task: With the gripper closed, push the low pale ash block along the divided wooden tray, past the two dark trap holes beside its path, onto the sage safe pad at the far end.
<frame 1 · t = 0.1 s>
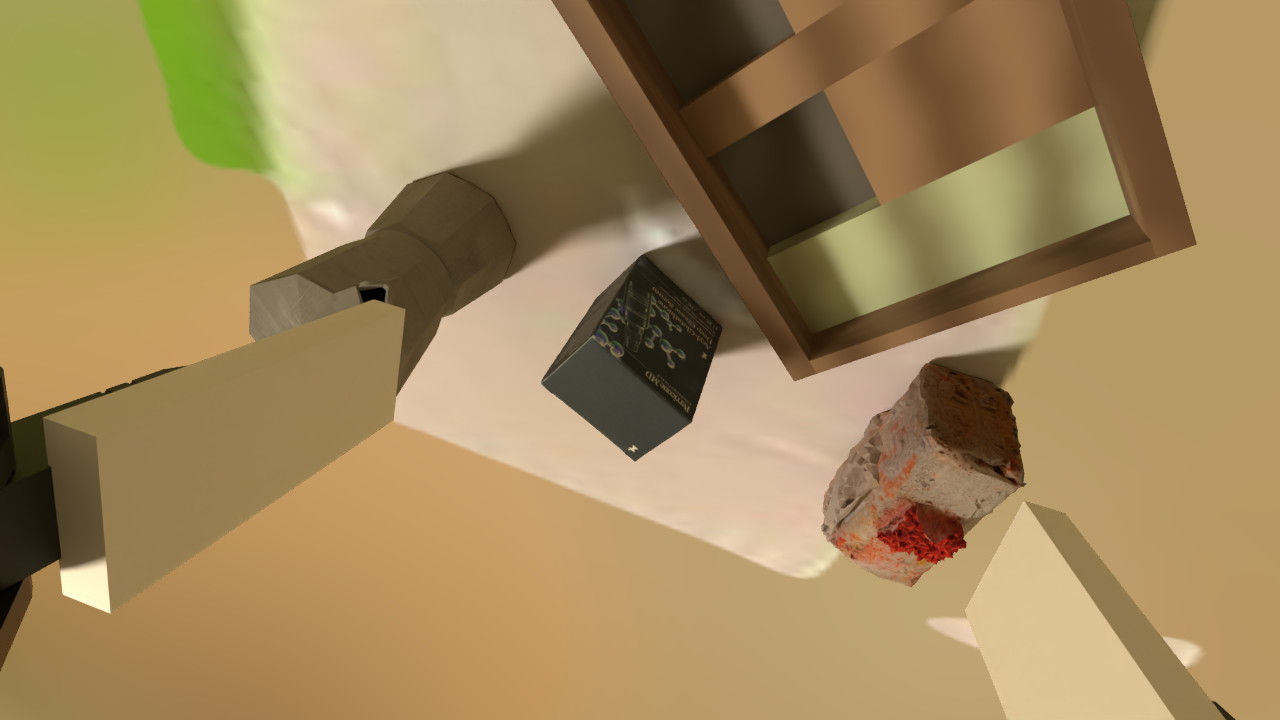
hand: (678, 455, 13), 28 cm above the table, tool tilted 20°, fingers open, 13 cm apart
box: (659, 310, 45), on the table
coffeepot: (451, 239, 47), on the table
food item: (909, 435, 46), on the table
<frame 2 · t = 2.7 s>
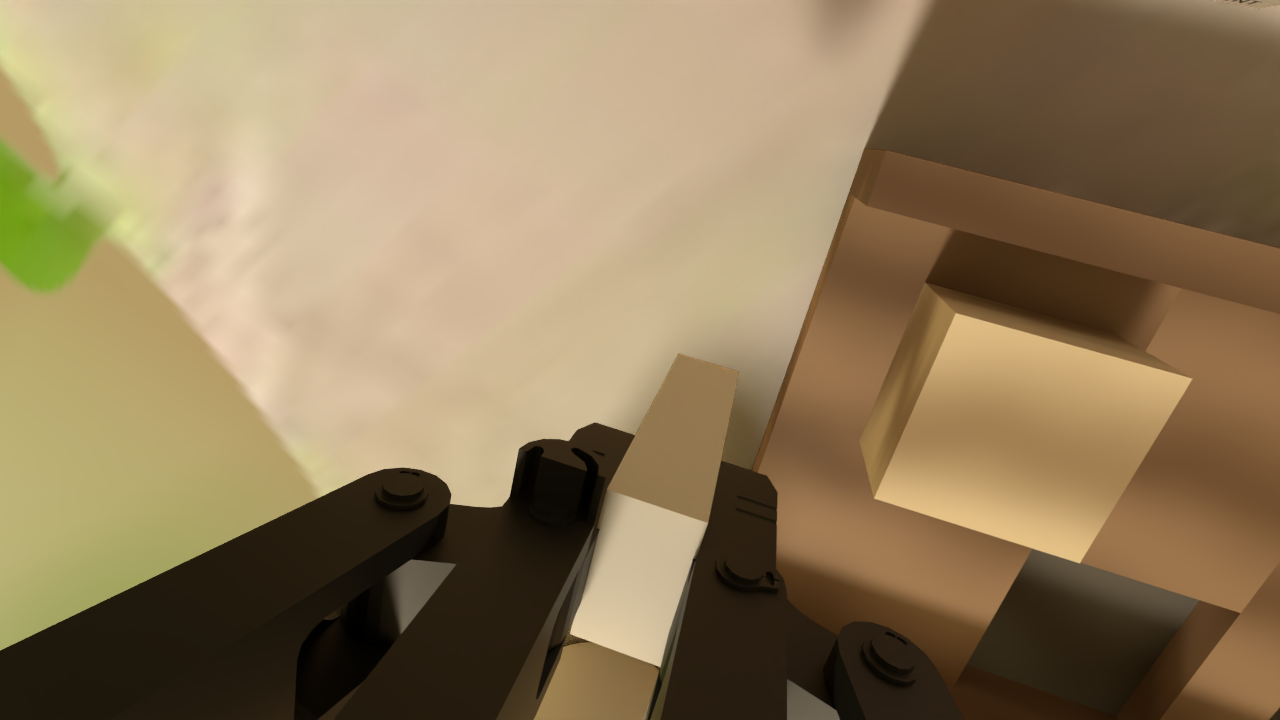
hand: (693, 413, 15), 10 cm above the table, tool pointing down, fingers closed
block: (979, 391, 21), point 2 cm above the table, touching divided wooden tray
divided wooden tray: (1198, 535, 23), on the table
pill bottle: (608, 696, 32), on the table
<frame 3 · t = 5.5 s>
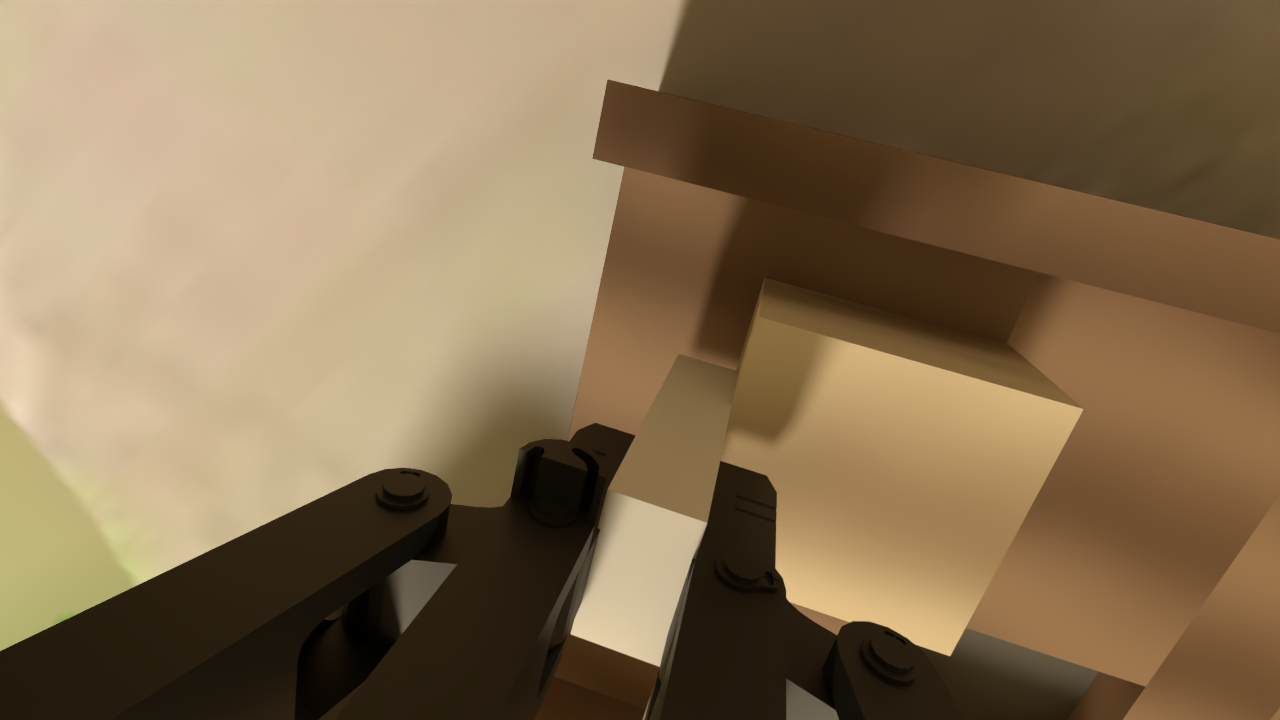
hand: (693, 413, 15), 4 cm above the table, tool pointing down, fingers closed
block: (842, 417, 16), point 2 cm above the table, touching gripper, divided wooden tray
divided wooden tray: (1099, 583, 18), on the table
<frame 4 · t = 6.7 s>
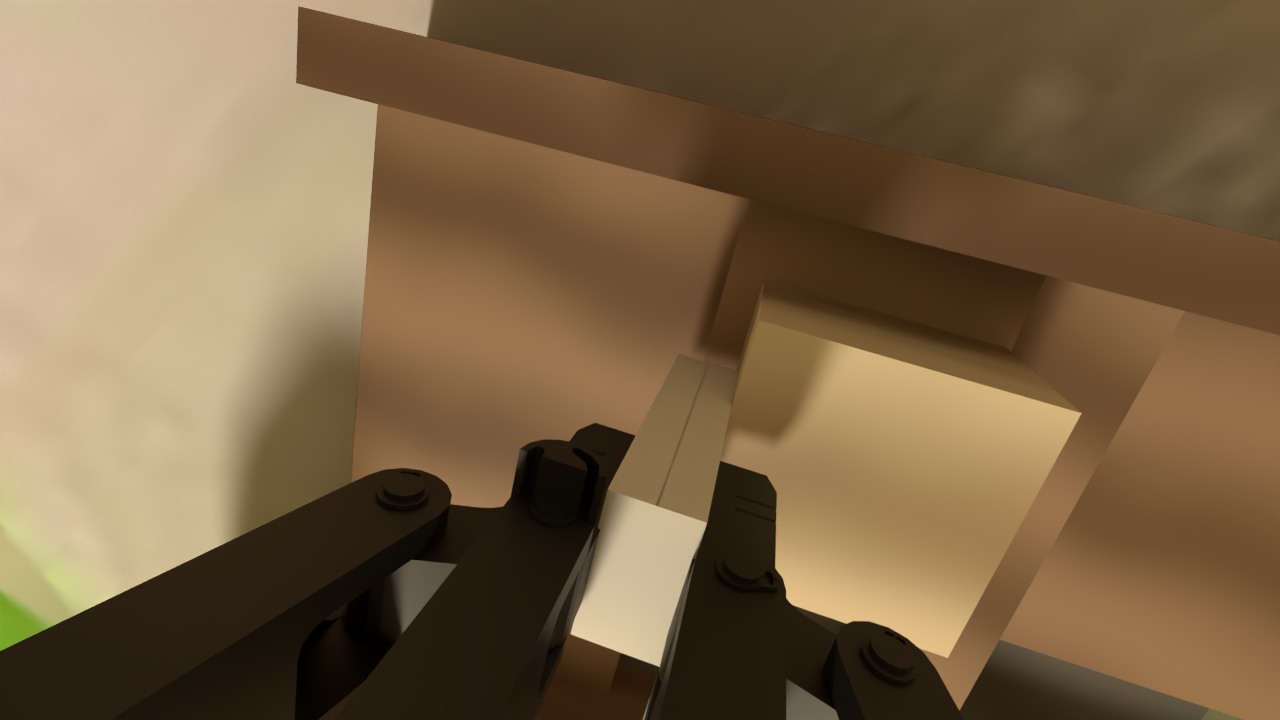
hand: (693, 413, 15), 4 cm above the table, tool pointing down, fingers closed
block: (841, 420, 17), point 2 cm above the table, touching divided wooden tray
divided wooden tray: (866, 512, 19), on the table
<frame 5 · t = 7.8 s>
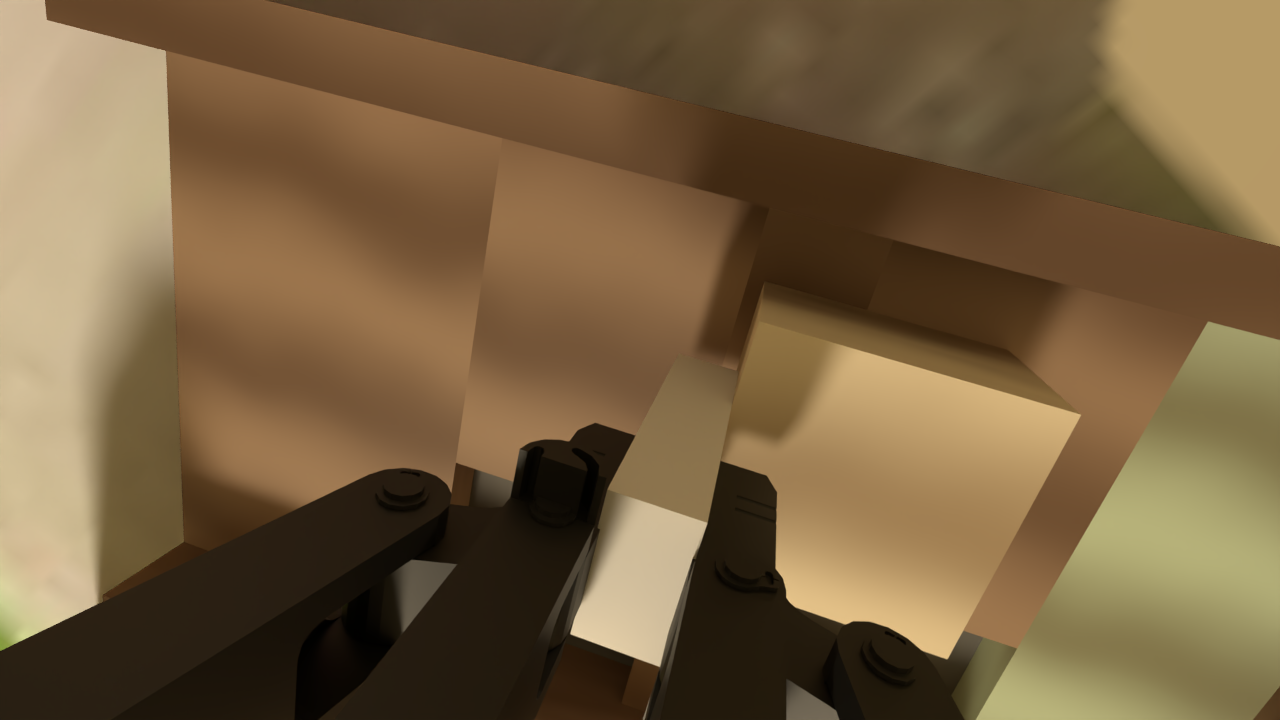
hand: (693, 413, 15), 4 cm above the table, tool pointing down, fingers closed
block: (841, 421, 17), point 2 cm above the table, touching divided wooden tray
divided wooden tray: (663, 450, 20), on the table
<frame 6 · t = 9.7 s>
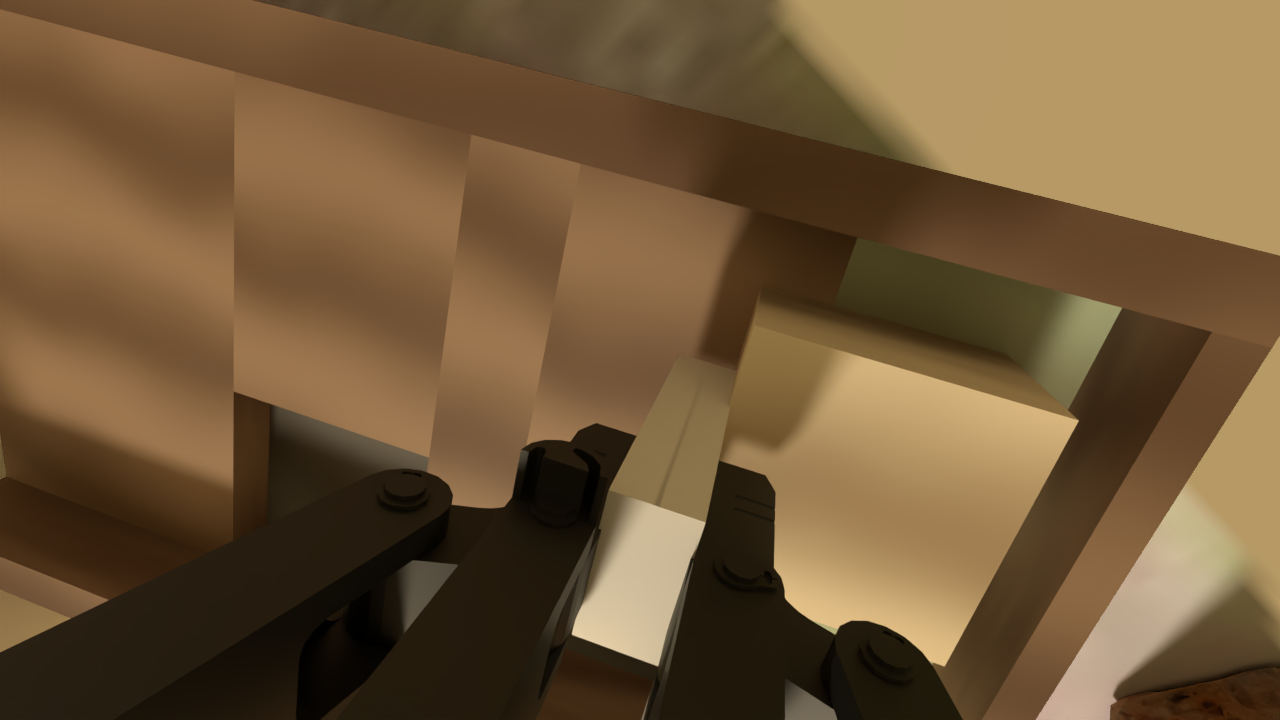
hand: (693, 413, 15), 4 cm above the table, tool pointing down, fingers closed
block: (839, 425, 16), point 2 cm above the table, touching gripper
divided wooden tray: (438, 383, 21), on the table
pill bottle: (33, 603, 30), on the table
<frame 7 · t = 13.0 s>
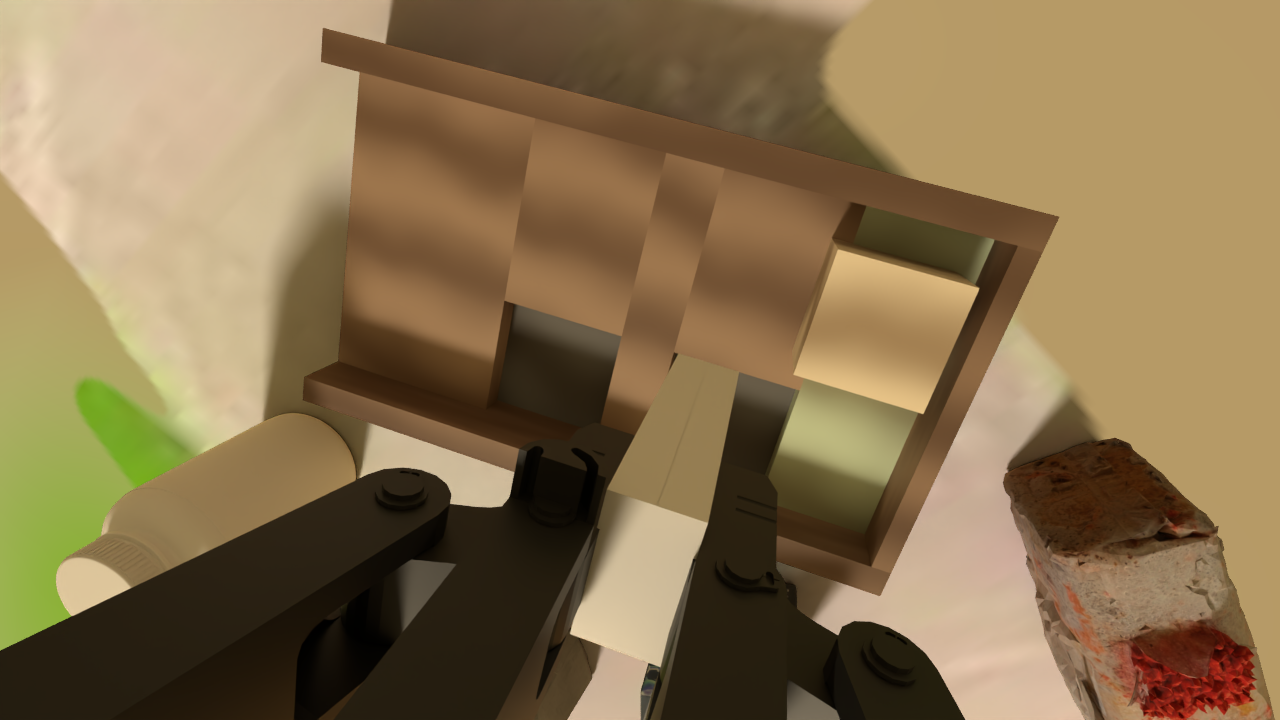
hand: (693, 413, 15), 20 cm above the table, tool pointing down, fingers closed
box: (732, 607, 41), on the table
coffeepot: (532, 667, 47), on the table
food item: (1086, 552, 35), on the table
block: (870, 312, 32), point 2 cm above the table, touching divided wooden tray
divided wooden tray: (619, 297, 36), on the table
pill bottle: (312, 460, 45), on the table
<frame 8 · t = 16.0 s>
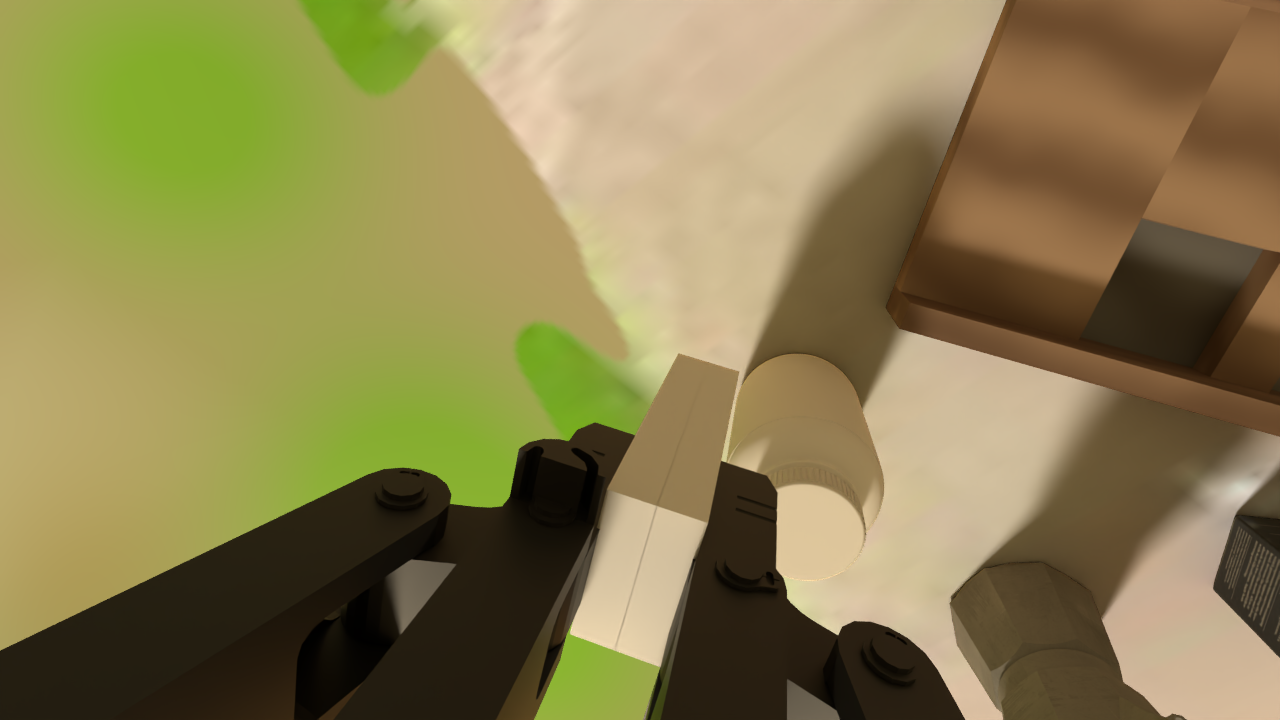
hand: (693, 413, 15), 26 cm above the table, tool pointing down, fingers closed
coffeepot: (1013, 626, 44), on the table
divided wooden tray: (1254, 215, 34), on the table
pill bottle: (796, 405, 42), on the table
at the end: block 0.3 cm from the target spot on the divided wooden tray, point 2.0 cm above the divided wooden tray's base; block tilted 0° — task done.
